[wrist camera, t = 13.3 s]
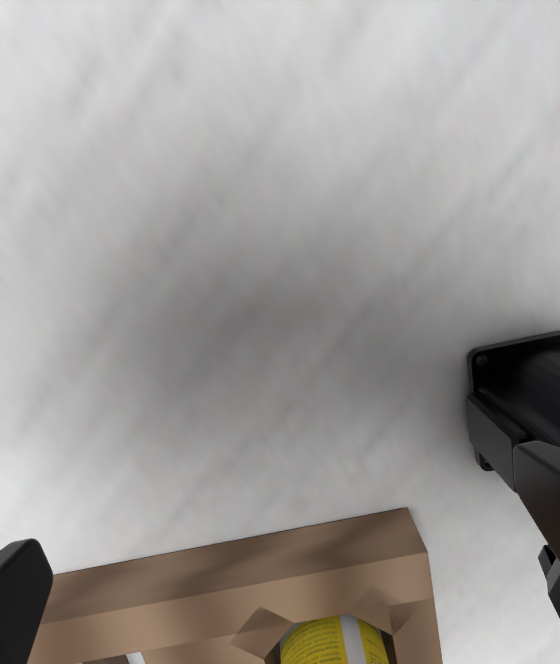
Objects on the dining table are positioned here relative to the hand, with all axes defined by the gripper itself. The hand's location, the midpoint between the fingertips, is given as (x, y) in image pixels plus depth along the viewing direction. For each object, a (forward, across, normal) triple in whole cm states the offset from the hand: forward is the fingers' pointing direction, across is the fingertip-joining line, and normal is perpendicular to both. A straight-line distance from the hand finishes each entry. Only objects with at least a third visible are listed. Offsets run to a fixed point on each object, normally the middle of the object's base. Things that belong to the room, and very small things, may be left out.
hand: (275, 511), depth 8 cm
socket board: (+12, +6, +17) cm, 22 cm away
